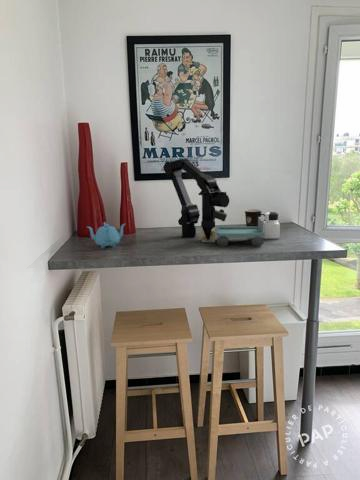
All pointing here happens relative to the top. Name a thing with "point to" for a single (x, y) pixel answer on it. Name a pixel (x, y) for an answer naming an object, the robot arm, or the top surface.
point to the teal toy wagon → (241, 234)
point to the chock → (212, 236)
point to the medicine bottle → (271, 226)
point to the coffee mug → (252, 217)
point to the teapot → (107, 235)
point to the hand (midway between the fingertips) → (208, 238)
